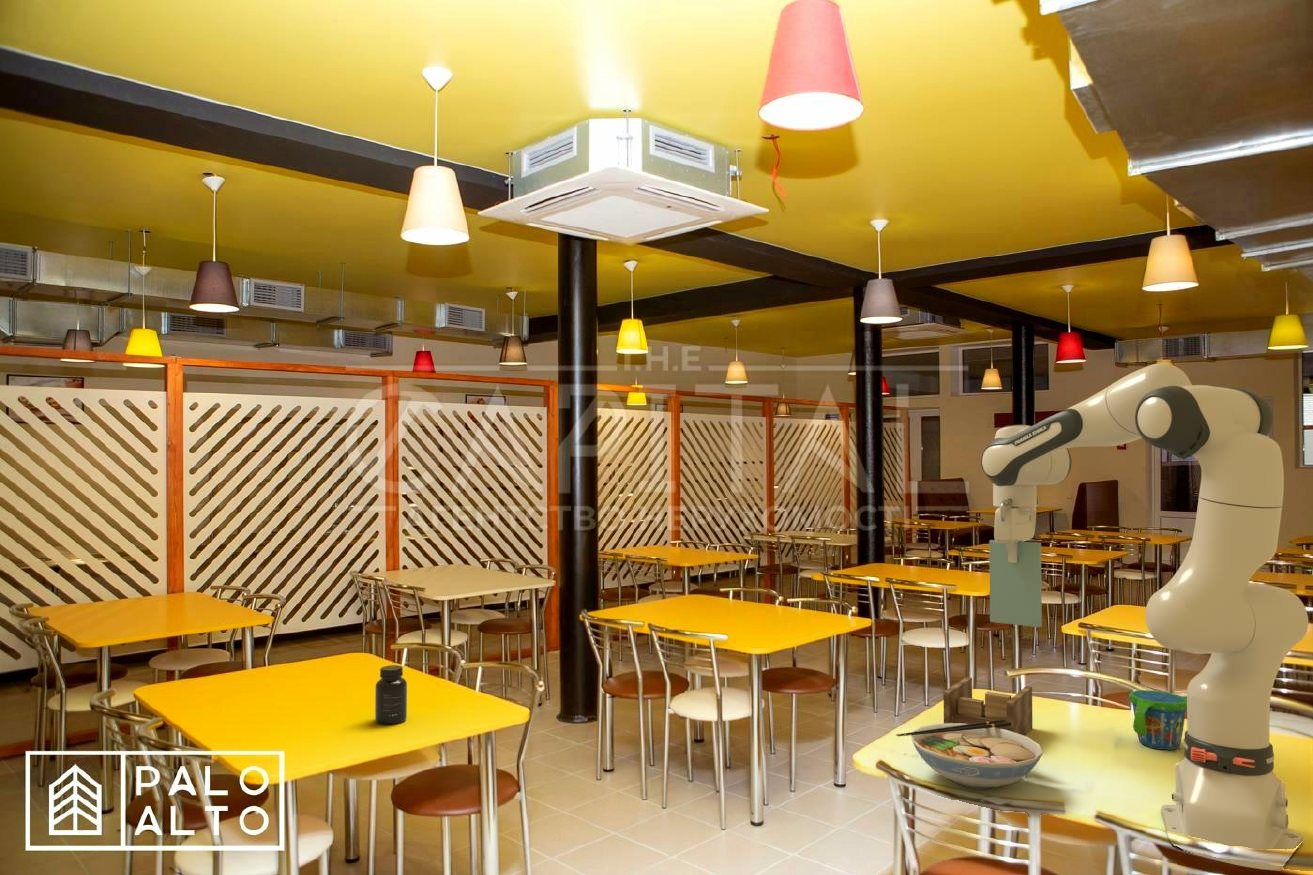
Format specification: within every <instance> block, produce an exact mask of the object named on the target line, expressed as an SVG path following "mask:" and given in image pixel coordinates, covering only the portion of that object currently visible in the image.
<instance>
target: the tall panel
mask: <svg viewBox="0 0 1313 875" xmlns="http://www.w3.org/2000/svg"><path fill="white" fill-rule="evenodd" d="M988 542H989V550H988V551H989V622H990V623H997V624H998V623H999V624H1005V625H1006V624H1007V625H1015V626H1016V625H1017V626H1023V627H1024V626H1025V627H1033V628H1041V627H1042V626H1043V622H1042V621H1043V614H1042V612H1043V611H1042V609H1043V608H1042V543H1041V542H1031V541H1030V542H1029V541H1024V542H1018V547H1017V554H1018V562H1016V563H1011V562H1009V561H1008V552H1007V548H1006V544H1003V543H996V542H995V539H994V540H993V539H990V540H989V541H988Z"/></svg>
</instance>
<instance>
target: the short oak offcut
mask: <svg viewBox="0 0 1313 875" xmlns="http://www.w3.org/2000/svg"><path fill="white" fill-rule="evenodd" d="M984 704H985V699H977V698H973V697H972V698H966V697H960V698H958V713H960V714H966V715H972V716H977V717H983V718H984Z"/></svg>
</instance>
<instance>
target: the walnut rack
mask: <svg viewBox="0 0 1313 875" xmlns="http://www.w3.org/2000/svg"><path fill="white" fill-rule="evenodd" d="M960 697H966V698H972V699H973V677H968V676H966V677H964V678H962V679H961V680H960V681H958V682H956V683H955V684H953V685H952V686H951V687H949V688H947V689H946V690H944V691H943V724H945V723H963V724H973V723H980V722H987V721H994V719H989V718H985V703H984V718H983V717H977V716H972V715H966V714H960V713H958V698H960ZM1007 722H1011V726H1005V727H994V728H999V729H1004V730H1008V731H1011V732H1014V733H1017V734H1020V735H1023V736H1026V737H1027V735H1028V734H1029V733H1030V732H1031V731H1032V730H1033V729H1034V728H1033V686H1029V685H1026V686H1025V687H1023V688H1022V689H1020V690H1019V691H1018V692H1017V693H1016V694H1015V695H1013V696H1011V699H1010V700H1009V701H1007Z"/></svg>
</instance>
